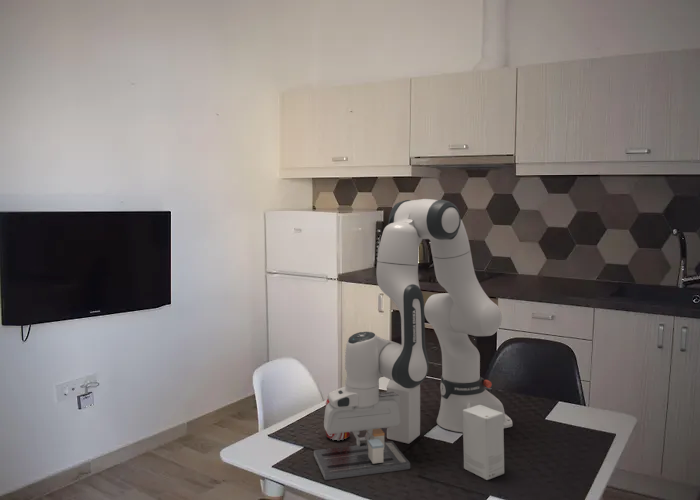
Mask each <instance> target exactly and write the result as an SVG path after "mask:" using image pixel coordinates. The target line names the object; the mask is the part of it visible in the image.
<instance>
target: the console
mask: <svg viewBox="0 0 700 500" xmlns="http://www.w3.org/2000/svg"><path fill="white" fill-rule="evenodd" d="M313 457H314V460H315V462H316V464H317V466H318V468H319V471H320V472H321V475H322V477H323V479H324V481H329V480H337V479H342V478H343V479H344V478H352V477H359V476H366V475H374V474H383V473H390V472H396V471H398V472H399V471H405V470H411V462H410V461H409V460H408V459H407V457H406V456H405V455H404V454H403V452H402V451H401V450H400V448H398V446H397V445H396V444H395V442H394V440H389V441H384V450H383V462H382V463H374V464H373V463H372V462H371V460H370V459H369V457H368V445H367V446H360V447H358V446H357V444H355V445H348V446H340V447H330V448H323V449H314V450H313Z"/></svg>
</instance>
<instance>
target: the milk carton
mask: <svg viewBox="0 0 700 500" xmlns="http://www.w3.org/2000/svg"><path fill="white" fill-rule="evenodd" d="M386 392H394V393H397V394H398V395H399V397H400V404H399V406H398V407H399V413H400V423H399V425H398V426H397V427H389V428H386V438H387V439H388V440H390V441H396V442H399V443H405V444H410V443H412V442H413V441H414V440H416V439H417V438H418V437H419V436H420V435H421V384H419V385H418V386H416V387H414V388H404V387H402V386H401V385H399V384H397V383H396V382H395V381H392V380H390V379H389V382H388V384H387V385H386Z"/></svg>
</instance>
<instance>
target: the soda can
mask: <svg viewBox="0 0 700 500" xmlns="http://www.w3.org/2000/svg"><path fill="white" fill-rule="evenodd" d="M328 403H329V399H328V398H327V399H326V401H325V407H326V406H327V404H328ZM325 434H326V437H327V438H328V439H329V440H331V439H332V440H331V441H334V440H337V441H336V442H341V441H340V440H342V441H345V440H347V438H349V437H350V435H351V432H345V433H336V434H329V433H328V432H327V431H326V430H325ZM344 439H345V440H344Z"/></svg>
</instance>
